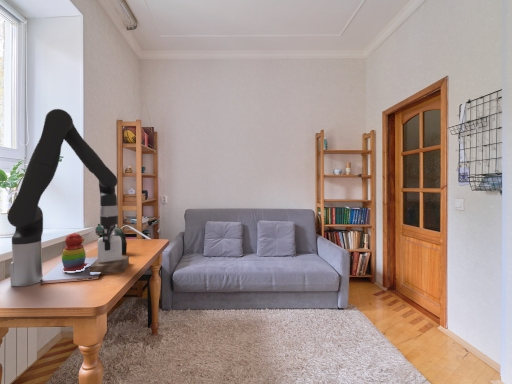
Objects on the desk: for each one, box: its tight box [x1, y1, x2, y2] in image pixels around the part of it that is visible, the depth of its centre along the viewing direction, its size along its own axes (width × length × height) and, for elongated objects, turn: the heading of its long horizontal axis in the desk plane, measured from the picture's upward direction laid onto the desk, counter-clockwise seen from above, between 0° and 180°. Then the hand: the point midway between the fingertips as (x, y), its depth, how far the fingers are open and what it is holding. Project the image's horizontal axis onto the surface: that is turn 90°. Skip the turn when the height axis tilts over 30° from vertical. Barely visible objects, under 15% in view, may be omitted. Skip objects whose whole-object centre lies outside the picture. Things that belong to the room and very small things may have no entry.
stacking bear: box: [61, 232, 89, 271], centre depth 122 cm, size 11×10×18 cm
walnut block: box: [88, 255, 130, 275], centre depth 123 cm, size 14×14×4 cm
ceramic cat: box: [95, 223, 128, 256], centre depth 151 cm, size 20×6×20 cm, turn 73°
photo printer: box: [97, 236, 123, 263], centre depth 122 cm, size 10×4×12 cm, turn 121°
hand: (109, 248), depth 123 cm, fingers open, 8 cm apart
